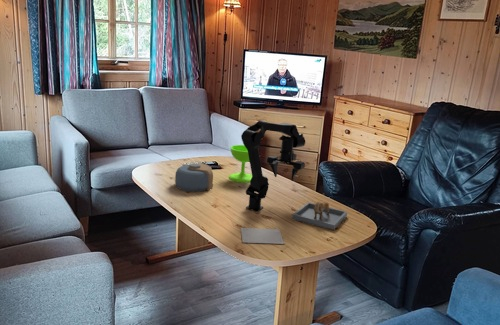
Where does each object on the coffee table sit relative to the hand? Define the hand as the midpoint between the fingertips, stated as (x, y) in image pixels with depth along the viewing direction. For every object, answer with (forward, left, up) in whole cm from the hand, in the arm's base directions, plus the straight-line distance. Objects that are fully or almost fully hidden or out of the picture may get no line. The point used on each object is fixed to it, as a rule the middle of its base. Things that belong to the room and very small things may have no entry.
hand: (283, 178), depth 224 cm
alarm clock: (-10, +47, -12) cm, 50 cm away
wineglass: (+20, +34, -12) cm, 42 cm away
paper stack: (-38, -12, -12) cm, 42 cm away
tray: (-9, -24, -12) cm, 28 cm away
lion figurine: (-9, -24, -12) cm, 29 cm away
